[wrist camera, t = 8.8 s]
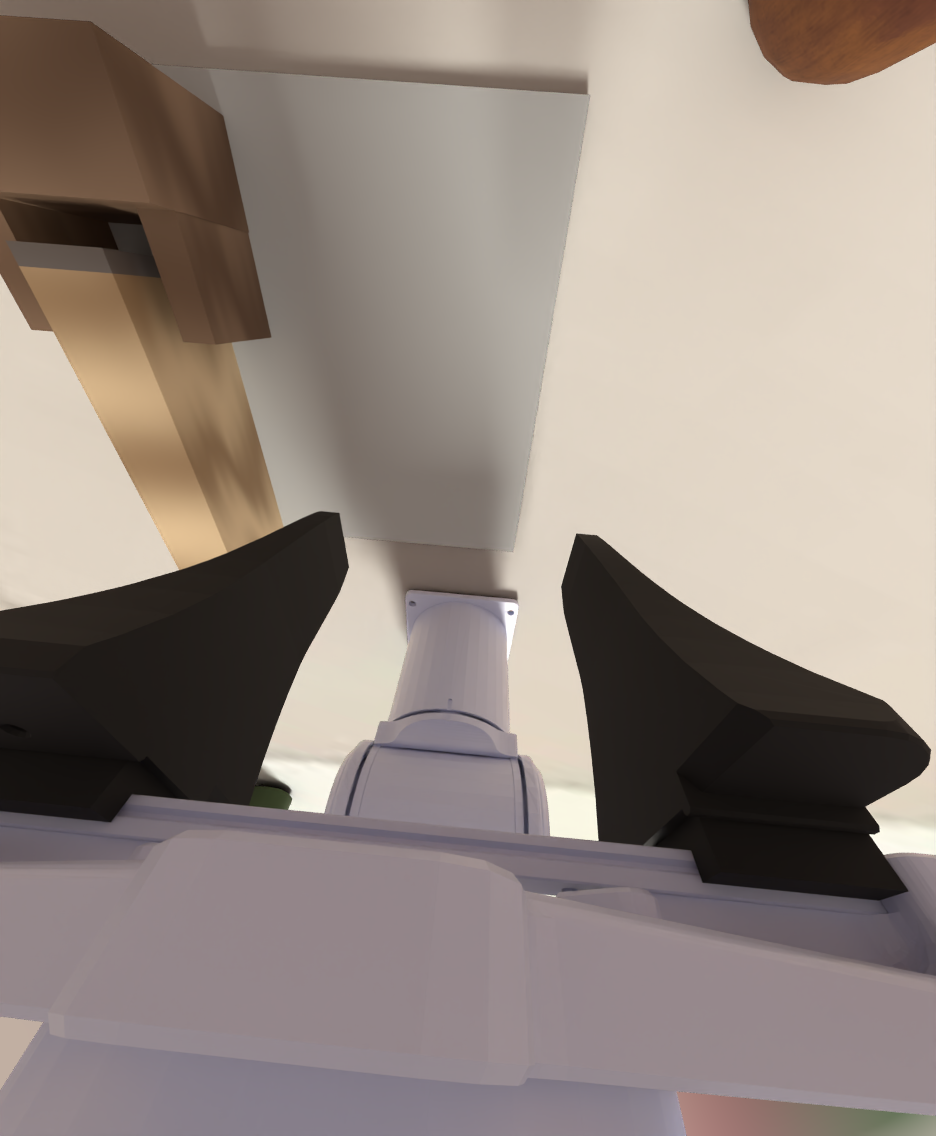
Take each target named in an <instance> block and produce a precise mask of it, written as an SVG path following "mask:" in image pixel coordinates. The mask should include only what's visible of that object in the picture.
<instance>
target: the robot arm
mask: <svg viewBox="0 0 936 1136" xmlns="http://www.w3.org/2000/svg"><path fill="white" fill-rule="evenodd" d="M348 568H349V565H348V559H347V553H346V548H345V542H344V536H343V530H342V524H341V519H340V513H336V512H325V511H318V512H315V513H313V514H310V515H308V516H306V517H303V518H301V519H299V520H297V521H295V522H293V523H291V524H289V525H287V526H285V527H283V528H280V529H278V530H276V531H274V532H272V533H270V534H268V535H266V536H264V537H262V538H260V539H257V540H255V541H253V542H250V543H248V544H246V545H244V546H241V547H239V548H237V549H235V550H232V551H230V552H228V553H225V554H223V555H220V556H218V557H215V558H213V559H210V560H207V561H205V562H202V563H199V564H196V565H193V566H190V567H187V568H185V569H181V570H178V571H175V572H172V573H168V574H165V575H161V576H158V577H154V578H151V579H147V580H144V581H141V582H137V583H134V584H130V585H126V586H122V587H118V588H114V589H110V590H105V591H101V592H97V593H92V594H88V595H83V596H78V597H74V598H69V599H64V600H59V601H54V602H49V603H43V604H37V605H31V606H26V607H20V608H14V609H8V610H3V611H0V1016H1V1017H9V1018H16V1019H24V1020H32V1021H40V1022H43V1024H42V1025H41V1027H40V1028H39V1030H38V1032H37V1033H36V1035H35V1036H34V1038H33V1039H32V1041H31V1043H30V1044H29V1046H28V1047H27V1049H26V1051H25V1052H24V1054H23V1055H22V1057H21V1058H20V1060H19V1062H18V1063H17V1065H16V1066H15V1068H14V1069H13V1071H12V1073H11V1074H10V1076H9V1078H8V1079H7V1080H6V1082H5V1084H4V1085H3V1087H2V1088H1V1090H0V1136H686V1131H685V1127H684V1123H683V1118H682V1114H681V1109H680V1105H679V1101H678V1096H677V1092H676V1091H679V1092H690V1093H701V1094H711V1095H721V1096H732V1097H743V1098H753V1099H764V1100H774V1101H785V1102H796V1103H807V1104H817V1105H828V1106H838V1107H848V1108H859V1109H870V1110H880V1111H891V1112H901V1113H912V1114H922V1115H933V1116H936V855H928V854H918V853H894V854H886V855H883V854H882V852H881V851H880V849H879V848H878V847H877V845H876V844H875V842H874V841H873V839H872V838H871V837H870V835H869V834H876V833H878V832H880V830H879V825H878V824H877V822H876V821H875V820H874V818H873V817H872V815H871V814H870V813H869V811H868V810H867V809H866V807H865V806H867V805H869V804H871V803H873V802H875V801H876V800H878V799H880V798H882V797H884V796H886V795H888V794H889V793H891V792H893V791H895V790H897V789H899V788H900V787H902V786H904V785H906V784H908V783H909V782H911V781H912V780H914V779H915V778H917V777H918V776H920V775H921V773H922V772H923V771H924V770H925V769H926V767H927V766H928V765H929V761H930V754H931V749H930V748H929V747H928V745H927V744H926V743H925V741H924V740H923V739H922V738H921V737H920V736H919V735H918V734H917V733H916V732H915V731H914V730H913V729H912V728H911V727H910V726H909V725H908V724H907V723H906V722H905V721H904V720H903V719H902V718H901V717H900V716H899V715H898V714H897V713H896V712H895V711H894V710H893V709H892V708H891V707H890V706H889V705H888V704H887V703H886V702H884V701H883V700H881V699H878V698H876V697H873V696H871V695H868V694H866V693H863V692H861V691H858V690H856V689H853V688H851V687H848V686H846V685H843V684H841V683H838V682H836V681H833V680H831V679H828V678H826V677H823V676H821V675H818V674H816V673H814V672H811V671H809V670H807V669H805V668H802V667H800V666H798V665H796V664H794V663H791V662H789V661H787V660H785V659H783V658H781V657H778V656H776V655H774V654H772V653H770V652H768V651H766V650H764V649H762V648H760V647H758V646H756V645H754V644H752V643H750V642H748V641H746V640H744V639H742V638H741V637H739V636H737V635H735V634H733V633H731V632H730V631H728V630H726V629H724V628H722V627H720V626H719V625H717V624H715V623H714V622H712V621H710V620H708V619H707V618H705V617H704V616H702V615H700V614H699V613H697V612H696V611H694V610H693V609H691V608H689V607H688V606H686V605H685V604H683V603H682V602H680V601H679V600H677V599H676V598H674V597H673V596H672V595H670V594H669V593H668V592H666V591H665V590H664V589H662V588H661V587H660V586H658V585H657V584H656V583H654V582H653V581H652V580H650V579H649V578H648V577H647V576H645V575H644V574H643V573H642V572H640V571H639V570H638V569H637V568H636V567H634V566H633V565H632V564H631V563H630V562H628V561H627V560H626V559H625V558H624V557H623V556H621V555H620V554H619V553H618V552H617V551H616V550H615V549H613V548H612V547H611V546H610V545H609V544H607V543H606V542H605V541H604V540H602V539H601V538H600V537H598V536H597V535H586V534H576V537H575V540H574V544H573V547H572V551H571V554H570V558H569V561H568V565H567V568H566V572H565V575H564V579H563V582H562V586H561V588H562V599H563V608H564V615H565V619H566V623H567V627H568V631H569V635H570V639H571V643H572V647H573V651H574V655H575V658H576V662H577V666H578V670H579V674H580V678H581V683H582V688H583V694H584V701H585V708H586V715H587V722H588V730H589V739H590V747H591V755H592V766H593V776H594V786H595V797H596V811H597V824H598V838H599V841H592V840H582V839H572V838H562V837H552V836H550V826H549V812H548V803H547V796H546V790H545V785H544V781H543V778H542V775H541V773H540V771H539V770H538V768H537V767H536V766H535V765H534V763H533V761H532V759H531V758H530V757H529V756H526V755H518V753H517V735H516V734H512V733H510V719H509V688H508V658H509V653H510V648H511V643H512V639H513V634H514V629H515V624H516V619H517V614H518V609H519V605H518V602H517V601H516V600H514V599H506V598H495V597H484V596H473V595H462V594H451V593H441V592H430V591H419V590H409V591H408V592H407V593H406V596H405V602H406V620H407V638H408V647H407V651H406V655H405V659H404V662H403V666H402V670H401V674H400V678H399V681H398V685H397V689H396V693H395V697H394V700H393V704H392V708H391V712H390V716H389V719H388V721H381V722H379V726H378V729H377V733H376V736H375V740H374V741H372V740H363V741H361V742H360V743H359V744H358V745H357V746H356V747H355V749H353V750H352V751H351V752H350V753H349V754H348V755H347V756H346V758H345V759H344V761H343V763H342V764H341V766H340V768H339V771H338V773H337V775H336V778H335V780H334V783H333V786H332V789H331V792H330V795H329V798H328V801H327V805H326V809H325V813H324V814H323V813H313V812H304V811H294V810H284V809H274V808H264V807H254V806H249V804H250V801H251V797H252V794H253V791H254V788H255V785H256V782H257V779H258V775H259V772H260V769H261V766H262V763H263V760H264V757H265V754H266V752H267V749H268V746H269V743H270V740H271V737H272V735H273V732H274V729H275V726H276V723H277V721H278V718H279V716H280V713H281V710H282V708H283V705H284V703H285V700H286V698H287V695H288V692H289V690H290V688H291V685H292V683H293V681H294V678H295V676H296V673H297V671H298V669H299V666H300V664H301V662H302V660H303V658H304V656H305V654H306V652H307V650H308V648H309V646H310V645H311V643H312V641H313V639H314V638H315V636H316V634H317V632H318V631H319V629H320V627H321V625H322V623H323V622H324V620H325V618H326V616H327V615H328V613H329V611H330V609H331V607H332V606H333V604H334V602H335V600H336V598H337V596H338V594H339V592H340V590H341V587H342V585H343V582H344V579H345V577H346V574H347V571H348ZM411 601H414V602H415V603H412V602H411ZM509 610H512V612H509ZM547 895H556V897H552V896H547Z"/></svg>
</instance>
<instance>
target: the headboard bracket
mask: <svg viewBox="0 0 936 1136" xmlns="http://www.w3.org/2000/svg"><path fill="white" fill-rule="evenodd" d="M108 222H110V223H123V224H136V225H143V228H144V231H145V234H146V237H147V239H148V242H149V245H150V248H151V251H152V254H153V257H154V259H155V262H156V265H157V268H158V271H159V274H160V277H161V279H162V282H163V285H164V288H165V291H166V294H167V296H168V299H169V302H170V305H171V308H172V311H173V314H174V316H175V319H176V322H177V325H178V328H179V331H180V334H181V336H182V339H183V342H189V343H201V344H214V345H217V344H225V343H233V342H241V341H248V340H256V339H264V338H272V337H271V332H270V328H269V324H268V319H267V315H266V310H265V306H264V301H263V297H262V292H261V288H260V283H259V279H258V274H257V270H256V265H255V261H254V257H253V252H252V248H251V243H250V239H249V234H248V233H249V229H248V224H247V220H246V215H245V211H244V206H243V202H242V197H241V193H240V188H239V184H238V179H237V175H236V170H235V166H234V161H233V157H232V152H231V148H230V143H229V139H228V134H227V130H226V125H225V121H224V116H223V115H222V114H220V113H219V112H218V111H216V110H215V109H213V108H212V107H210V106H209V105H208V104H206V103H205V102H203V101H202V100H201V99H199V98H198V97H196V96H195V95H194V94H192V93H191V92H189V91H188V90H186V89H185V88H184V87H182V86H181V85H179V84H178V83H177V82H175V81H174V80H172V79H171V78H170V77H168V76H167V75H165V74H164V73H162V72H161V71H160V70H158V69H157V68H155V67H154V66H153V65H151V64H150V63H148V62H147V61H145V60H144V59H143V58H141V57H140V56H138V55H137V54H136V53H134V52H133V51H131V50H130V49H129V48H127V47H126V46H124V45H123V44H121V43H120V42H119V41H117V40H116V39H114V38H113V37H112V36H110V35H109V34H107V33H106V32H105V31H103V30H102V29H100V28H99V27H97V26H96V25H95V24H93V23H92V22H89V21H74V20H60V19H45V18H31V17H16V16H1V15H0V274H1V276H2V278H3V279H4V281H5V283H6V285H7V287H8V288H9V290H10V292H11V294H12V296H13V297H14V299H15V301H16V303H17V305H18V306H19V308H20V310H21V312H22V313H23V315H24V317H25V319H26V321H27V322H28V324H29V326H30V328H31V330H42V331H53V330H52V328H51V326H50V324H49V322H48V320H47V318H46V316H45V315H44V313H43V311H42V309H41V307H40V305H39V303H38V301H37V299H36V298H35V296H34V294H33V292H32V290H31V288H30V286H29V284H28V282H27V280H26V279H25V277H24V275H23V273H22V271H21V269H20V267H19V265H18V263H17V262H16V260H15V258H14V256H13V254H12V252H11V250H10V248H9V246H8V244H7V243H6V241H5V240H7V241H20V242H33V243H46V244H59V245H72V246H85V247H97V248H106V249H113V250H119V249H118V247H117V244H116V242H115V239H114V237H113V234H112V231H111V229H110V226H109V224H108Z"/></svg>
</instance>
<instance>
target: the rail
mask: <svg viewBox="0 0 936 1136" xmlns="http://www.w3.org/2000/svg"><path fill="white" fill-rule="evenodd" d="M5 241H6V243H7V244H8V246H9V248H10V250H11V252H12V254H13V256H14V258H15V260H16V262H17V263H18V265H19V267H20V269H21V271H22V273H23V275H24V277H25V279H26V280H27V282H28V284H29V286H30V288H31V290H32V292H33V294H34V296H35V298H36V299H37V301H38V303H39V305H40V307H41V309H42V311H43V313H44V315H45V316H46V318H47V320H48V322H49V324H50V326H51V328H52V330H53V332H54V333H55V335H56V337H57V339H58V341H59V343H60V345H61V347H62V349H63V351H64V352H65V354H66V356H67V358H68V360H69V362H70V364H71V366H72V368H73V369H74V371H75V373H76V375H77V377H78V379H79V381H80V383H81V385H82V387H83V388H84V390H85V392H86V394H87V396H88V398H89V400H90V402H91V404H92V405H93V407H94V409H95V411H96V413H97V415H98V417H99V419H100V421H101V423H102V424H103V426H104V428H105V430H106V432H107V434H108V436H109V438H110V440H111V441H112V443H113V445H114V447H115V449H116V451H117V453H118V455H119V457H120V459H121V460H122V462H123V464H124V466H125V468H126V470H127V472H128V474H129V476H130V477H131V479H132V481H133V483H134V485H135V487H136V489H137V491H138V493H139V495H140V496H141V498H142V500H143V502H144V504H145V506H146V508H147V510H148V512H149V513H150V515H151V517H152V519H153V521H154V523H155V525H156V527H157V529H158V530H159V532H160V534H161V536H162V538H163V540H164V542H165V544H166V546H167V548H168V549H169V551H170V553H171V555H172V557H173V559H174V561H175V563H176V565H177V566H178V568H179V570H181V569H185V568H187V567H190V566H193V565H196V564H199V563H202V562H205V561H207V560H210V559H213V558H215V557H218V556H220V555H223V554H225V553H228V552H230V551H232V550H235V549H237V548H239V547H241V546H244V545H246V544H248V543H250V542H253V541H255V540H257V539H260V538H262V537H264V536H266V535H268V534H270V533H272V532H274V531H276V530H278V529H280V528H283V527H284V526H283V523H282V519H281V515H280V512H279V508H278V505H277V501H276V498H275V494H274V491H273V487H272V484H271V480H270V477H269V473H268V469H267V466H266V462H265V459H264V455H263V452H262V448H261V445H260V441H259V438H258V434H257V431H256V427H255V424H254V420H253V416H252V413H251V409H250V406H249V402H248V399H247V395H246V392H245V388H244V385H243V381H242V378H241V374H240V370H239V367H238V363H237V360H236V356H235V353H234V349H233V346H232V343H225V344H217V345H214V344H201V343H189V342H183V339H182V336H181V334H180V331H179V328H178V325H177V322H176V319H175V316H174V314H173V311H172V308H171V305H170V302H169V299H168V296H167V294H166V291H165V288H164V285H163V282H162V279H161V277H160V274H159V271H158V268H157V265H156V262H155V259H154V257H153V256H151V255H145V254H138V253H132V252H126V251H119V250H113V249H106V248H97V247H85V246H72V245H59V244H46V243H33V242H20V241H7V240H5Z"/></svg>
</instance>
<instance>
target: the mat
mask: <svg viewBox="0 0 936 1136" xmlns="http://www.w3.org/2000/svg"><path fill="white" fill-rule="evenodd" d="M151 65H153V66H154V67H155V68H157V69H158V70H160V71H161V72H162V73H164V74H165V75H167V76H168V77H170V78H171V79H172V80H174V81H175V82H177V83H178V84H179V85H181V86H182V87H184V88H185V89H186V90H188V91H189V92H191V93H192V94H194V95H195V96H196V97H198V98H199V99H201V100H202V101H203V102H205V103H206V104H208V105H209V106H210V107H212V108H213V109H215V110H216V111H218V112H219V113H220V114H222V115H223V116H224V121H225V125H226V130H227V134H228V139H229V143H230V148H231V152H232V157H233V161H234V166H235V170H236V175H237V179H238V184H239V188H240V193H241V197H242V202H243V206H244V211H245V215H246V220H247V224H248V229H249V233H248V234H249V239H250V243H251V248H252V252H253V257H254V261H255V265H256V270H257V274H258V279H259V283H260V288H261V292H262V297H263V301H264V306H265V310H266V315H267V319H268V324H269V328H270V332H271V337H272V338H264V339H256V340H248V341H241V342H233V343H232V346H233V349H234V353H235V356H236V360H237V363H238V367H239V370H240V374H241V378H242V381H243V385H244V388H245V392H246V395H247V399H248V402H249V406H250V409H251V413H252V416H253V420H254V424H255V427H256V431H257V434H258V438H259V441H260V445H261V448H262V452H263V455H264V459H265V462H266V466H267V469H268V473H269V477H270V480H271V484H272V487H273V491H274V494H275V498H276V501H277V505H278V508H279V512H280V515H281V519H282V523H283V526H284V527H285V526H287V525H289V524H291V523H293V522H295V521H297V520H299V519H301V518H303V517H306V516H308V515H310V514H313V513H315V512H318V511H325V512H336V513H340V519H341V524H342V530H343V536H344V537H349V538H360V539H371V540H382V541H393V542H405V543H416V544H427V545H438V546H450V547H461V548H472V549H483V550H495V551H506V552H513V551H514V545H515V539H516V533H517V527H518V522H519V516H520V510H521V504H522V498H523V492H524V486H525V480H526V474H527V468H528V462H529V456H530V450H531V444H532V438H533V433H534V427H535V421H536V415H537V409H538V403H539V397H540V391H541V385H542V379H543V373H544V367H545V361H546V355H547V349H548V344H549V338H550V332H551V326H552V320H553V314H554V308H555V302H556V296H557V290H558V284H559V278H560V272H561V266H562V260H563V255H564V249H565V243H566V237H567V231H568V225H569V219H570V213H571V207H572V201H573V195H574V189H575V183H576V177H577V171H578V165H579V160H580V154H581V148H582V142H583V136H584V130H585V124H586V118H587V112H588V106H589V100H590V95H585V94H571V93H557V92H543V91H528V90H514V89H500V88H485V87H471V86H457V85H443V84H428V83H414V82H400V81H385V80H371V79H357V78H343V77H328V76H314V75H300V74H285V73H271V72H257V71H243V70H228V69H214V68H200V67H186V66H171V65H157V64H151ZM108 224H109V226H110V229H111V231H112V234H113V237H114V239H115V242H116V244H117V247H118V249H119V251H126V252H132V253H138V254H145V255H151V256H153V254H152V251H151V248H150V245H149V242H148V239H147V237H146V234H145V231H144V228H143V225H136V224H123V223H110V222H108Z"/></svg>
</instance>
